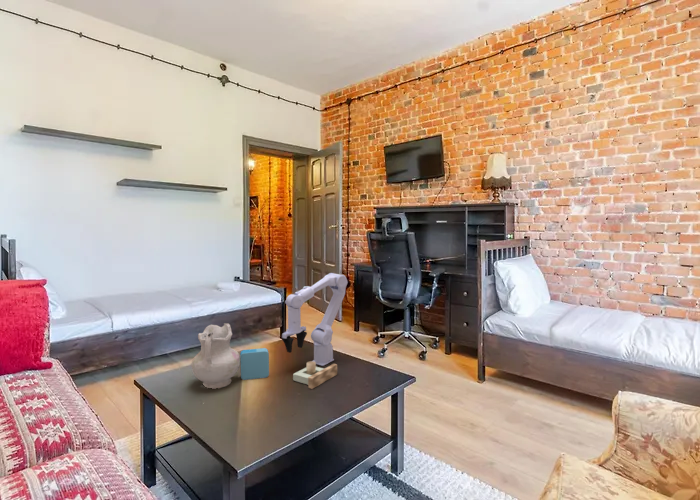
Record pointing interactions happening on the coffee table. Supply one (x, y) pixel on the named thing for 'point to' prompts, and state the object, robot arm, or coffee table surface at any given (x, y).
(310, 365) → the birch dowel
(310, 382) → the oak wall
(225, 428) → the coffee table surface
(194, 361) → the ceramic pitcher
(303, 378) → the socket block
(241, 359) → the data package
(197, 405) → the coffee table surface
